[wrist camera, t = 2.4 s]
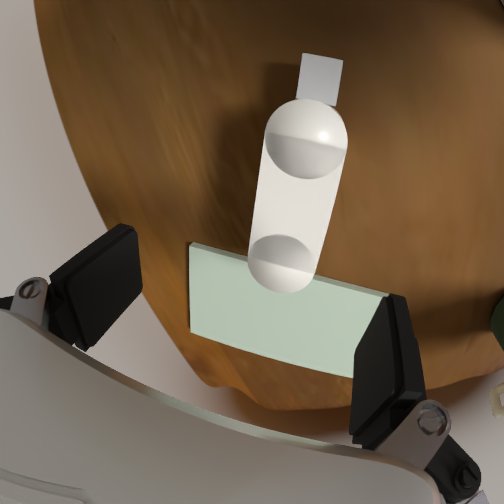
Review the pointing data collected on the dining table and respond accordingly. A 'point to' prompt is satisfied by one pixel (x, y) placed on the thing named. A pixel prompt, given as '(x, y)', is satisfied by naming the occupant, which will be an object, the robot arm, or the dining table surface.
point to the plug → (298, 179)
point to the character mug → (500, 326)
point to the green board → (278, 313)
